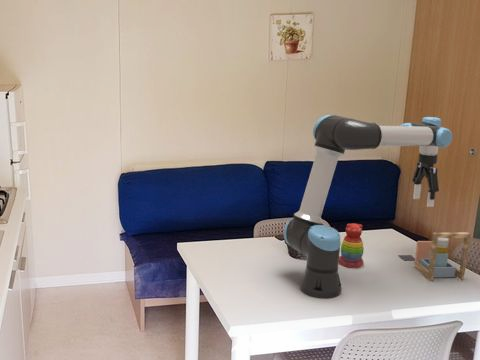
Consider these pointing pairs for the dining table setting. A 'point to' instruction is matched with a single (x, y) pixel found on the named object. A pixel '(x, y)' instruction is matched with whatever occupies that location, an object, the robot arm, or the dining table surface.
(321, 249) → the robot arm
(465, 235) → the wooden frame rack
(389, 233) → the dining table surface
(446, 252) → the bottle
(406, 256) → the pit pads
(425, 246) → the tray
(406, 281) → the dining table surface
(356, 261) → the stacking bear
